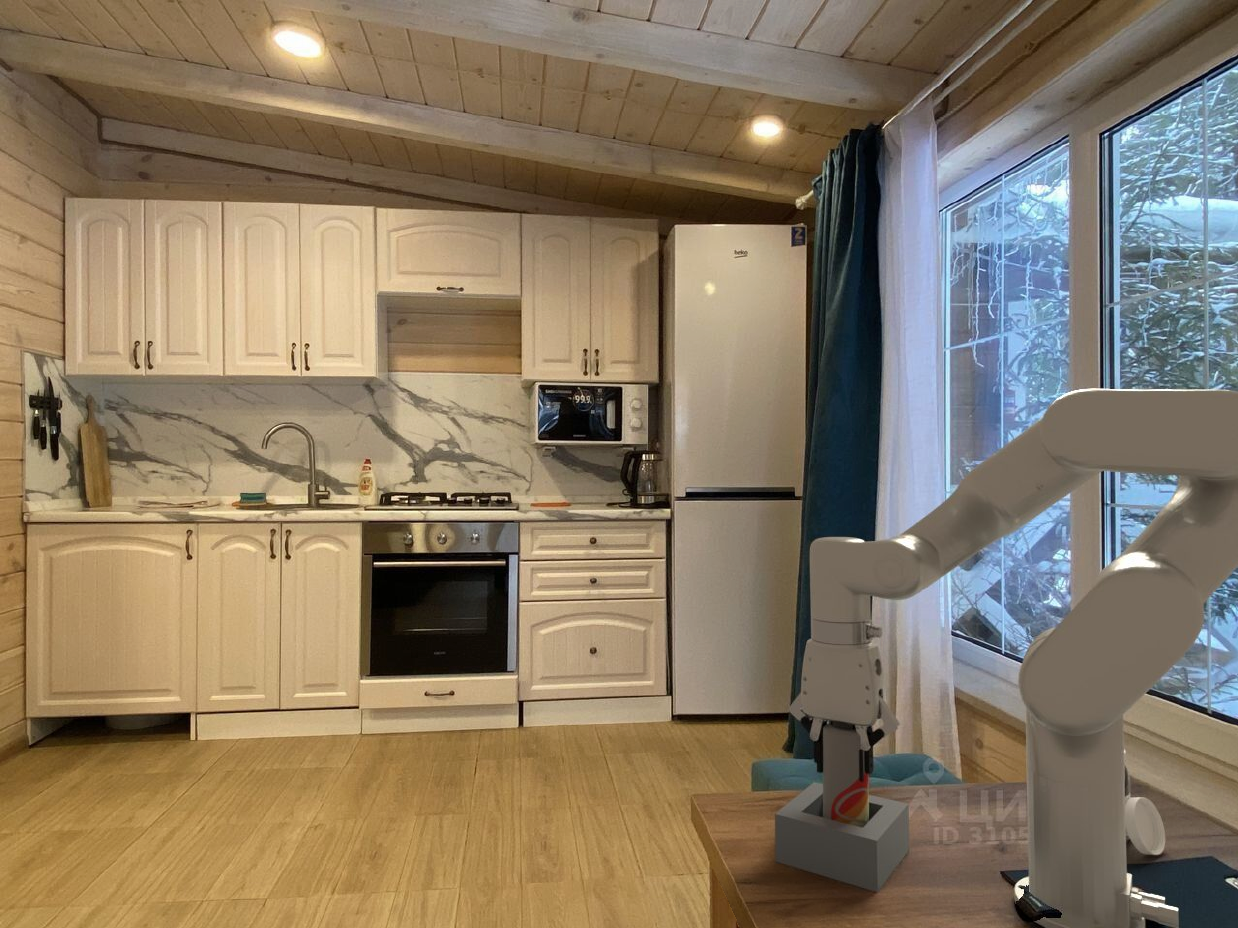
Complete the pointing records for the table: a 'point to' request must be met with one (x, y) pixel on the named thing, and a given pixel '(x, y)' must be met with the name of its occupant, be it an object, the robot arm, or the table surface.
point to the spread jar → (1142, 822)
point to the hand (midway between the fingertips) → (843, 772)
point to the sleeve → (842, 840)
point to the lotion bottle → (844, 776)
